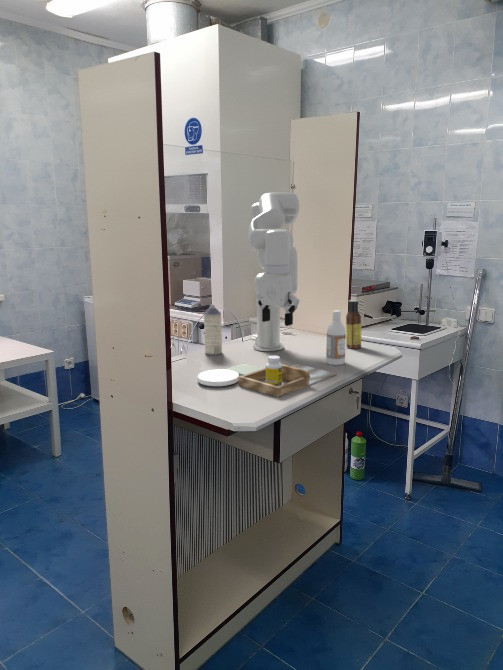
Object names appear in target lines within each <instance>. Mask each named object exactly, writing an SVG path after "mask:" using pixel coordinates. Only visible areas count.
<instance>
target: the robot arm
mask: <svg viewBox="0 0 503 670" xmlns="http://www.w3.org/2000/svg"><path fill="white" fill-rule="evenodd" d="M299 212H300V200H299V197H298V196H297V194H295V192H289V191H287V192H285V191H283V192H282V191H279V192H277V191H276V192H275V191H274V192H267V193H264V194H262V195H261V197H260V198H259V200H258V202H256V203H254V204H252V205H251V206H250V217H251V222H250V223H249V226H248V245H249V248H250V251H252V252H254V253H257V264H258V266H259V268H260V269H263V270H264V272H261V273H258V274H257V275H256V276H255V278H254V280H253V281H254V284H253V285H254V291H255V298H256V299H255V300H256V334H254V335H253V336H252V337H251V341H253V342H255V343H254V344H253V349H254V350H256V351H260V352H277V351H280V350H283V349H284V344H283V343H282V342H281V326H280V325H281V319H280V318H281V315H280V313H281V310H280V309H281V308H283V309H284V311H285V312H286V313H284V325H285V327H288V326H291V325H293V323H294V317H293V316H294V313H295V311H296V310H297V308H298V306H299V303H300V299H298V298H297V297H296V296H295V294H296V293H297V290H298V251H297V250H296V248H295V246H293V243H294V238H293V234H292V233H291V231H289V230H288V229H285V228H282V227H283V225H292V224H294V223H295V221H296V220H297V217H298V214H299Z"/></svg>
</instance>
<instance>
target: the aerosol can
mask: <svg viewBox="0 0 503 670" xmlns="http://www.w3.org/2000/svg"><path fill="white" fill-rule="evenodd" d="M215 306H216V305H215V304H209V308H208V309H207V310H206V311H204V314H203V319H204V320H203V323H204V327H203V329H204V354H205V355H206V356H213V357H214V356H221V355H222V354H223V338H222V337H223V336H222V335H223V333H222V332H223V331H222V313H221V311H220V310H219V309H217V307H215Z"/></svg>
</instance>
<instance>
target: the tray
mask: <svg viewBox="0 0 503 670" xmlns="http://www.w3.org/2000/svg"><path fill="white" fill-rule="evenodd" d="M264 368H265V367H260V366H256V365H252V364H249V363H241V364H237V365H233V366H230V367H228V368H225V369H226V370H232V371H235V372H237V373H238V374H239V376H242V375H245V374H249V373H252V372H255V371H258V370H261V369H264Z"/></svg>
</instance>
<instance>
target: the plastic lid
mask: <svg viewBox="0 0 503 670" xmlns="http://www.w3.org/2000/svg"><path fill="white" fill-rule="evenodd" d="M226 369H227V368H225V369H222V368H220V369H209V370H204V371H201V372H200V373H198V375H197V382H198V383H199V384H201V385H203V386H208V387H224V386H225V387H226V386H230V385H233V384H236V383H237V382H238V383H239V374H238V373H237V372H235V371H232V370H226Z"/></svg>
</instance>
